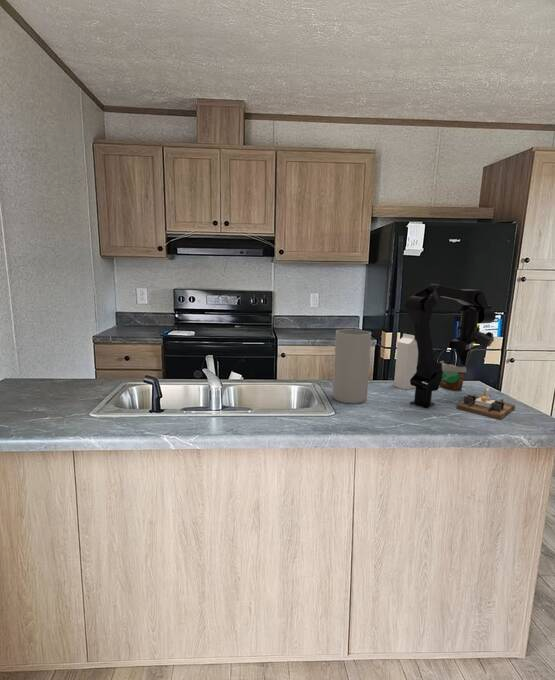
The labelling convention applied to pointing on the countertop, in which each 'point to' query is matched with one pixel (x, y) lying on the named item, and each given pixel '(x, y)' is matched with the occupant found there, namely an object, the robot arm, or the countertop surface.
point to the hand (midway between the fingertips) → (464, 365)
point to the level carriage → (485, 399)
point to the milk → (406, 361)
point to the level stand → (495, 411)
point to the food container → (452, 376)
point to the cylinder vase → (351, 365)
